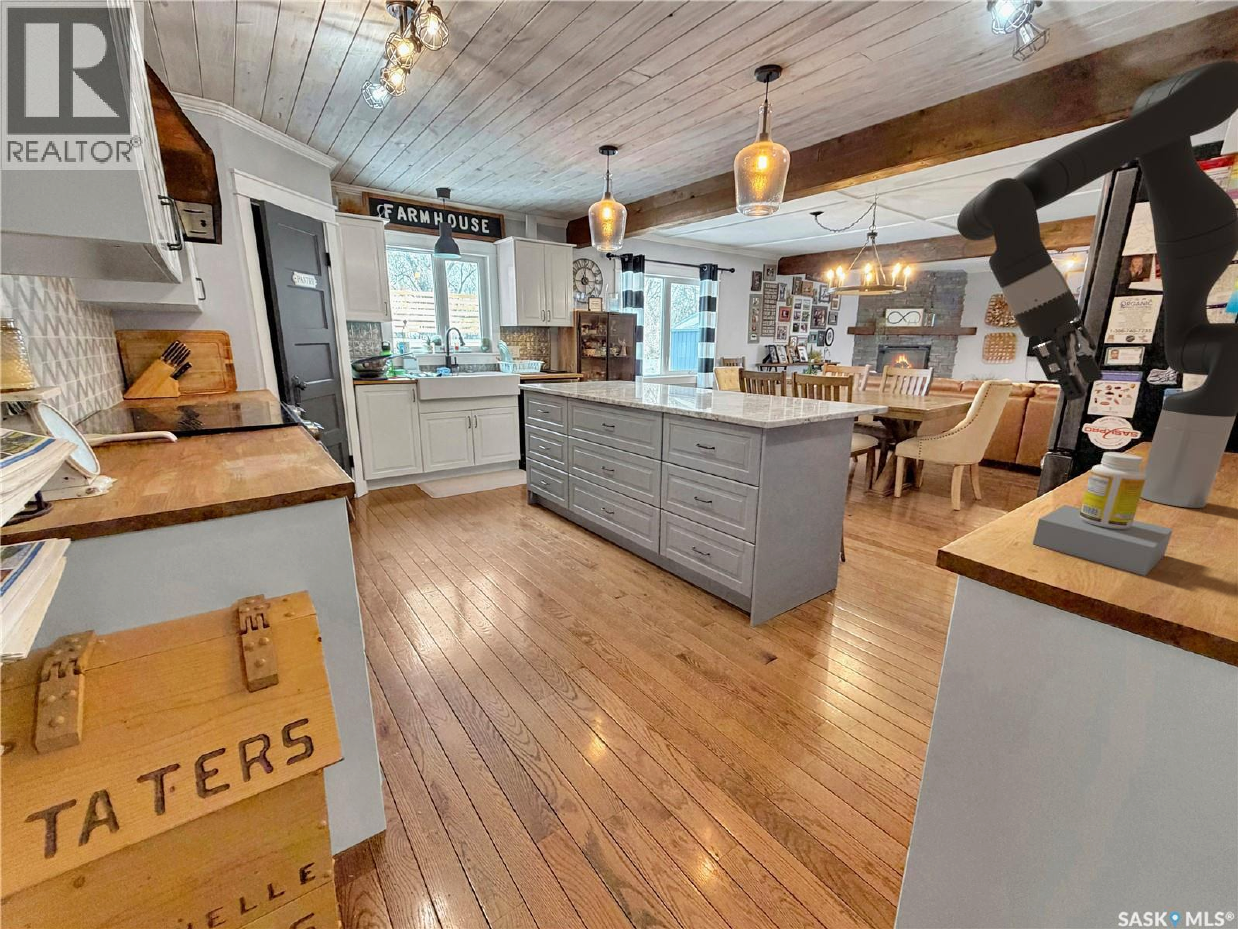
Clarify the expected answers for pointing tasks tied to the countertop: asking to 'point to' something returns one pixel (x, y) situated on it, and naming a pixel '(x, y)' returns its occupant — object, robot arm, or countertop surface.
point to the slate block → (1103, 540)
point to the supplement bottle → (1113, 491)
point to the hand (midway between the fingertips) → (1086, 389)
